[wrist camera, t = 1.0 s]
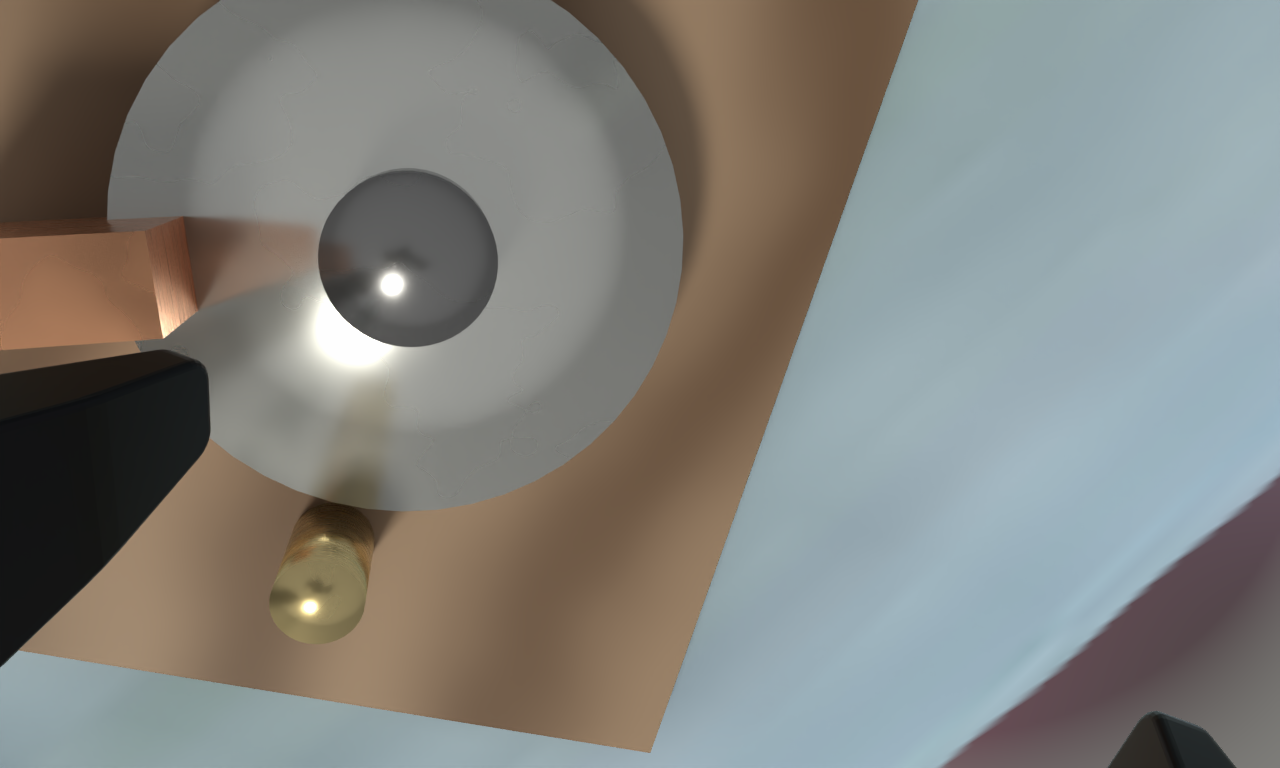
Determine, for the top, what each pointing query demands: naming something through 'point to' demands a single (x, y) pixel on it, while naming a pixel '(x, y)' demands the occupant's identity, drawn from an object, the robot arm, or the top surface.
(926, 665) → the top surface
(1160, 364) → the top surface
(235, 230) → the flange plate
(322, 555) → the brass dowel
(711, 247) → the base board
